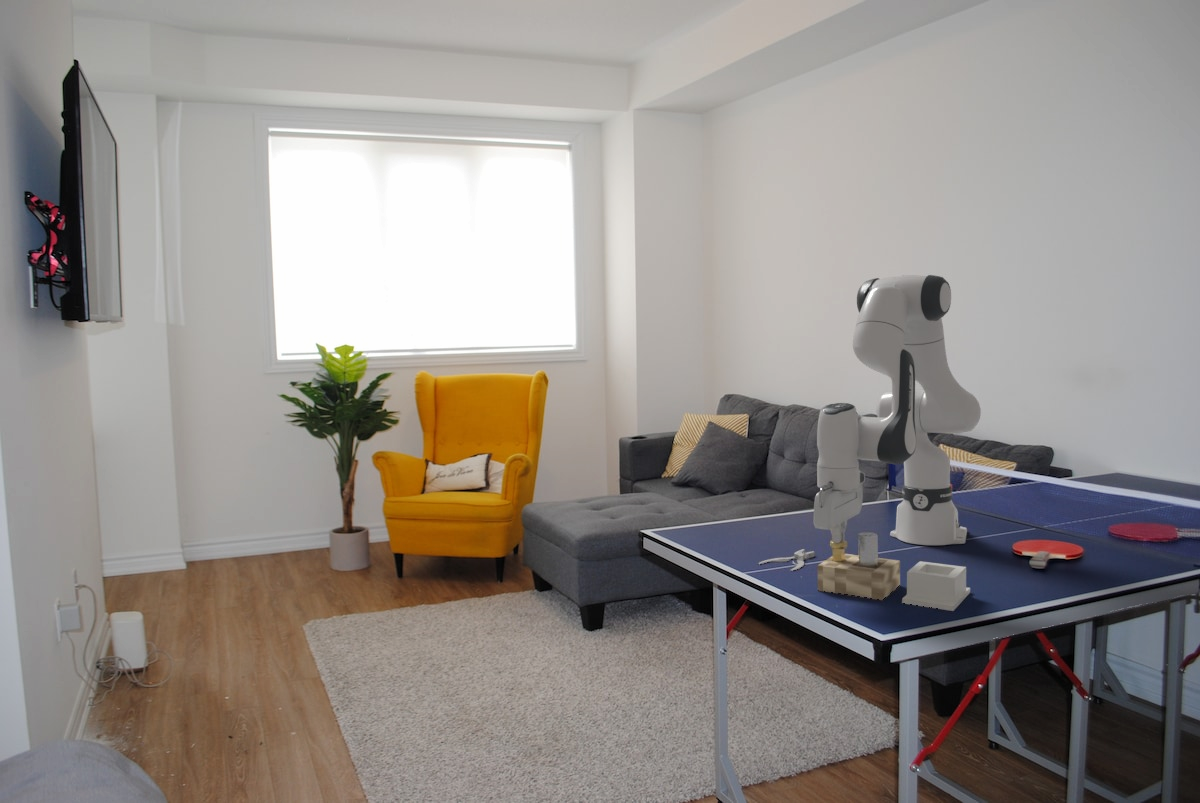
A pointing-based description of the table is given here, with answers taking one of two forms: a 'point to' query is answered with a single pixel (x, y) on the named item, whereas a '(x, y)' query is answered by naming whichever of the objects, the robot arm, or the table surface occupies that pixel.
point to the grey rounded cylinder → (868, 550)
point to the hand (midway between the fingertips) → (838, 541)
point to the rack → (936, 585)
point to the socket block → (859, 577)
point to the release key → (838, 550)
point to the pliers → (798, 555)
